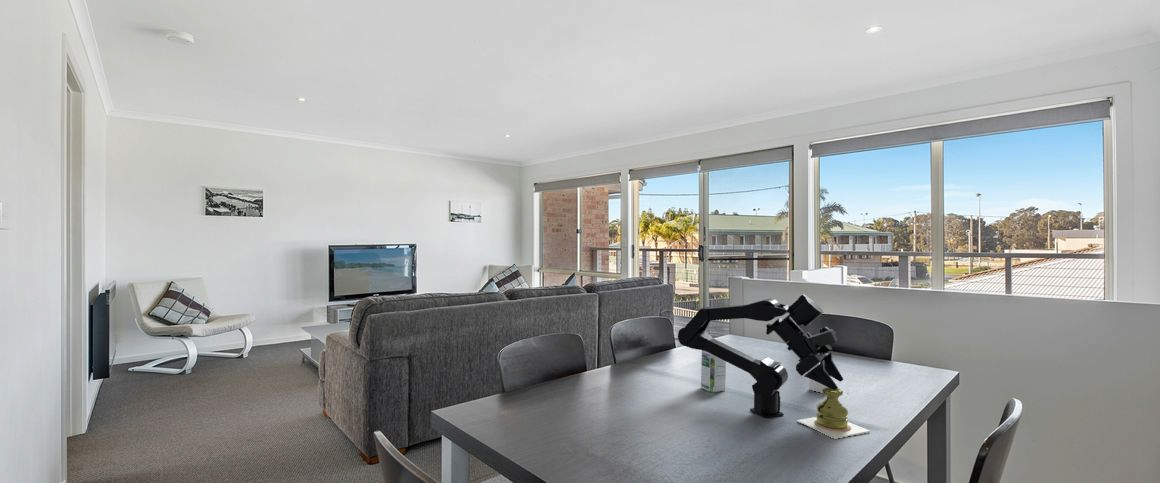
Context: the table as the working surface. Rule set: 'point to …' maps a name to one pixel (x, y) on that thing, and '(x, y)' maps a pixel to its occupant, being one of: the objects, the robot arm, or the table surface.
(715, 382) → the syrup box
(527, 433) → the table surface
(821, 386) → the eye dropper bottle
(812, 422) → the card
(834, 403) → the brass door knob
